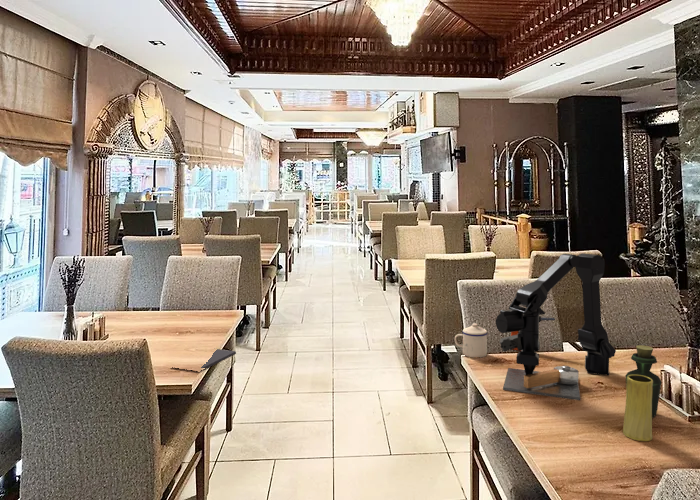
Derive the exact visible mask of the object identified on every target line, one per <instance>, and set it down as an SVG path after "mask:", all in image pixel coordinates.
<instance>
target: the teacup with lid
mask: <svg viewBox="0 0 700 500" xmlns="http://www.w3.org/2000/svg"><path fill="white" fill-rule="evenodd" d="M458 337H462V344H460V343H459V342H458V340H457V338H458ZM487 340H488V331H487V330H486V329H485V328H482V327H481V326H478V323H475V322H474V323H472V324H471V325H470V326H468V327H465V328H463V330H462V333H457V334H456V335H455V336H454V343H455V345H456V346H457V347H460V348H462V355H464V356H466V357H468V358H474V357H480V358H485V357H486V356H487V355H488V354H487V346H488V345H487V343H488V341H487Z"/></svg>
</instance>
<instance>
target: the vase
mask: <svg viewBox="0 0 700 500" xmlns="http://www.w3.org/2000/svg"><path fill="white" fill-rule="evenodd" d="M652 385H653V380H652V379H651V378H649V377H647V376H643V375H635V374H633V375H628V376H627V385H626V384H625V393H626V394H625V395H626V397H625V408H624V409H625V410H624V417H623V428H622V434H623V435H624V436H625V437H626V438H628V439H631V440H634V441H639V442H650V441H652V440H653V429H652V428H653V418H652Z"/></svg>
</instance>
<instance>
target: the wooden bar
mask: <svg viewBox="0 0 700 500" xmlns="http://www.w3.org/2000/svg"><path fill="white" fill-rule="evenodd" d="M556 382H559V383H563V384H576V383H578V384H579V370H578V369H577V368H574V367H571V366H570V365H559V366H555V367H553V369H549V370H548V369H547V370H544V371H543V370H542V371H539V372H538V373H533V374H528V375H524V387H526V388H532V387H537V386H542V385H546V384H551V383H556Z"/></svg>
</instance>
